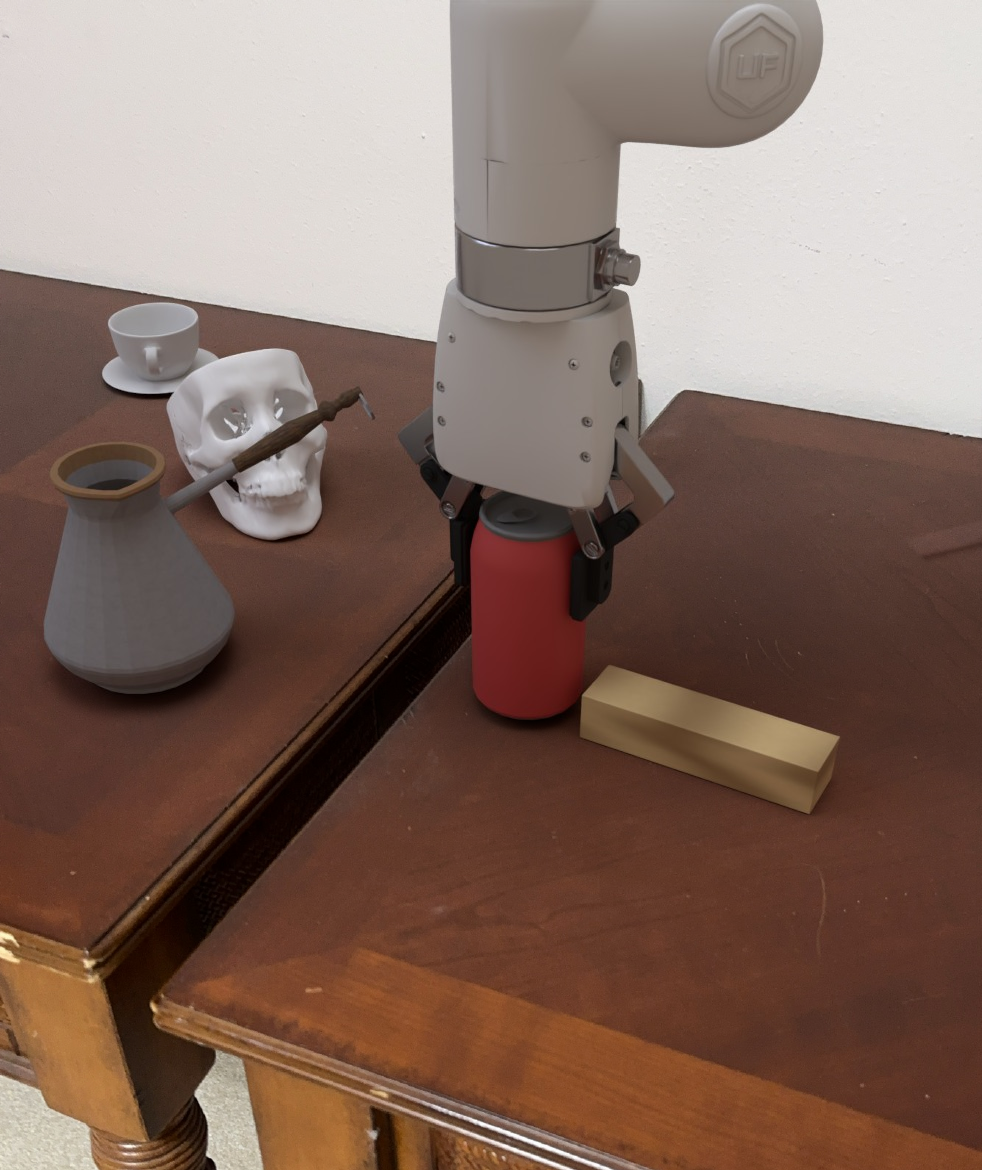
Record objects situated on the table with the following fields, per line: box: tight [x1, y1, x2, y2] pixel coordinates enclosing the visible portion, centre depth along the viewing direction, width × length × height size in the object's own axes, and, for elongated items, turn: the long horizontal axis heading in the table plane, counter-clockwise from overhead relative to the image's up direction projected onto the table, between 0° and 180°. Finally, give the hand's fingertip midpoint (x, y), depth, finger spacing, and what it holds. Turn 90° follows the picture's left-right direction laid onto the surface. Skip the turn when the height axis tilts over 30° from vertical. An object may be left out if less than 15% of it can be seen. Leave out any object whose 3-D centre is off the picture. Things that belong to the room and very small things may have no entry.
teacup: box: [101, 302, 220, 395], centre depth 114 cm, size 10×10×5 cm
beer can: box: [470, 490, 587, 721], centre depth 76 cm, size 7×7×12 cm
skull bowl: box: [165, 348, 328, 541], centre depth 97 cm, size 10×14×12 cm
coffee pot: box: [43, 386, 376, 695], centre depth 80 cm, size 21×12×15 cm, turn 111°
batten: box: [579, 664, 841, 815], centre depth 76 cm, size 14×4×3 cm, turn 60°
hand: (529, 589), depth 76 cm, fingers closed on beer can, 6 cm apart
